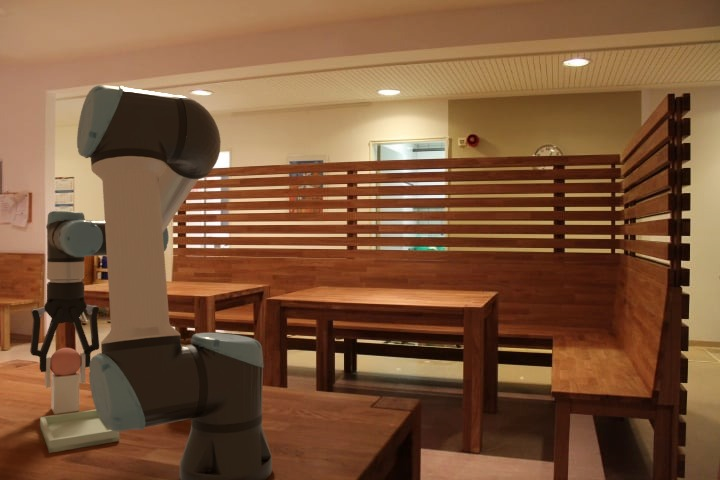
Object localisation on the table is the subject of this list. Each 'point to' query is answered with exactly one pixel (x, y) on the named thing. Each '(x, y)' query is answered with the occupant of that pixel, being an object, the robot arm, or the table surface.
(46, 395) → the table surface
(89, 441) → the tray
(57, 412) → the hollow square tube
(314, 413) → the table surface
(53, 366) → the ball
